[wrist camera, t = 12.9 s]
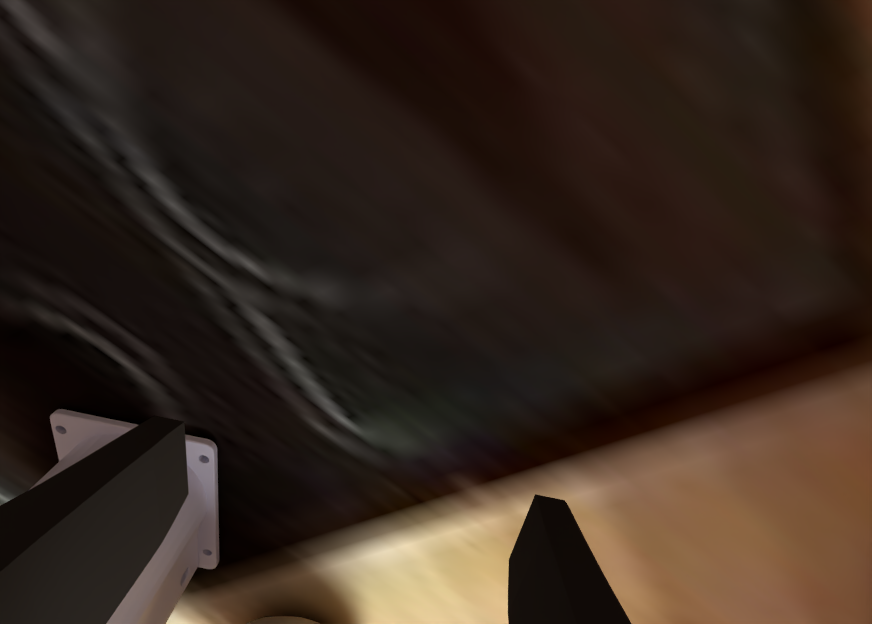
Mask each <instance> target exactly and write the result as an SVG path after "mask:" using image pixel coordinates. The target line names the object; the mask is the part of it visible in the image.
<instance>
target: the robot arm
mask: <svg viewBox="0 0 872 624" xmlns="http://www.w3.org/2000/svg"><path fill="white" fill-rule="evenodd" d="M50 422H51V427H52V431H53V436H54V440H55V445H56V449H57V454H58V458H59V462H58V463H57V464H56V465H55V466H54V467H53V468H52V469H51V470H50V471H49V472H48V473H47V474H45V475H44V476H43V477H42V478H41V479H40V480H39V481H38V482H37V483H36V484H35V485H34V486H33V487H32V488H31V489H29V490H28V491H27V492H25V493H23V494H21V495H19V496H18V497H16V498H14V499H12V500H10V501H8V502H7V503H5V504H3V505H1V506H0V624H166V622H167V620H168V618H169V617H170V615H171V613H172V611H173V610H174V608H175V606H176V604H177V603H178V601H179V599H180V597H181V595H182V594H183V592H184V590H185V588H186V587H187V585H188V583H189V581H190V580H191V578H192V576H193V574H194V573H195V571H196V569H197V567H200V568H205V569H214V568H216V567H217V565H218V563H219V512H218V460H217V446H216V444H215V443H214V442H213V441H211V440H209V439H205V438H200V437H195V436H191V435H186V434H185V423H184V422H183V421H178V420H173V419H168V418H163V417H158V416H153V417H152V418H150V419H148V420H146V421H145V422H143V423H141V424H140V425H137V424H132V423H128V422H123V421H118V420H113V419H108V418H103V417H98V416H94V415H89V414H84V413H79V412H74V411H69V410H65V409H58V410H56V411H55V412H54V413H52V414H51V416H50ZM206 456H207V457H206ZM508 619H509V624H631V622H630V620H629V619H628V617H627V615H626V613H625V611H624V610H623V608H622V606H621V604H620V603H619V601H618V599H617V597H616V596H615V594H614V592H613V590H612V589H611V587H610V585H609V583H608V581H607V580H606V578H605V576H604V574H603V572H602V570H601V569H600V567H599V565H598V563H597V561H596V559H595V557H594V555H593V553H592V551H591V550H590V548H589V546H588V544H587V542H586V540H585V538H584V536H583V534H582V532H581V530H580V528H579V526H578V524H577V522H576V520H575V518H574V516H573V514H572V512H571V510H570V508H569V507H568V505H567V503H566V502H565V500H560V499H555V498H550V497H545V496H540V495H536V494H535V496H534V499H533V501H532V504H531V506H530V509H529V511H528V514H527V516H526V519H525V521H524V524H523V526H522V529H521V531H520V533H519V536H518V538H517V541H516V543H515V546H514V548H513V551H512V553H511V556H510V558H509V579H508Z"/></svg>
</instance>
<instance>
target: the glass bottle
mask: <svg viewBox="0 0 872 624" xmlns="http://www.w3.org/2000/svg"><path fill="white" fill-rule="evenodd" d="M247 624H320V623H317V622H315V621H312V620H309V619H306V618H301V617H295V616H273V617H263V618H260V619H257V620H254V621H251V622H248V623H247Z"/></svg>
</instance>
